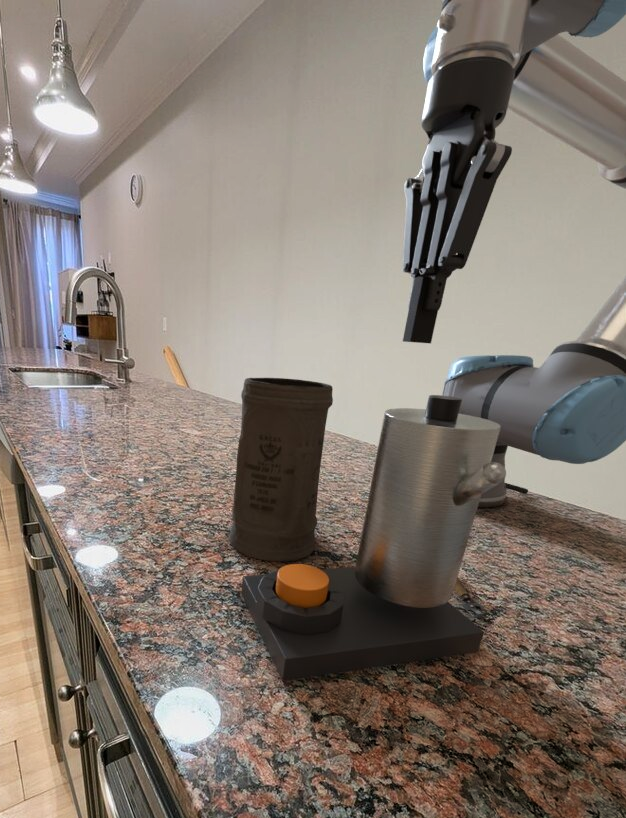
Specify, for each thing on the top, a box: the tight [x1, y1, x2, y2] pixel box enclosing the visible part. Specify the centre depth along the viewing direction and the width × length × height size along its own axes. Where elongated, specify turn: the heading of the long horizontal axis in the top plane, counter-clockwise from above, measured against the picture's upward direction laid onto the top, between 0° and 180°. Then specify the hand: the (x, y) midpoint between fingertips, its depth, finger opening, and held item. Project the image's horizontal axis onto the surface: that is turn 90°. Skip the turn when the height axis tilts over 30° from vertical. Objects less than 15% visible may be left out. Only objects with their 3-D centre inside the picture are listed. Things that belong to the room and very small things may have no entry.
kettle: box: [354, 394, 507, 608], centre depth 38 cm, size 9×14×17 cm, turn 15°
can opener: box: [453, 577, 485, 620], centre depth 47 cm, size 9×2×1 cm, turn 170°
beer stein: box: [228, 377, 334, 563], centre depth 54 cm, size 15×11×20 cm
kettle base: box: [240, 566, 485, 682], centre depth 41 cm, size 18×12×4 cm, turn 105°
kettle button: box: [276, 563, 329, 608], centre depth 38 cm, size 4×4×2 cm
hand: (416, 342), depth 51 cm, fingers closed
